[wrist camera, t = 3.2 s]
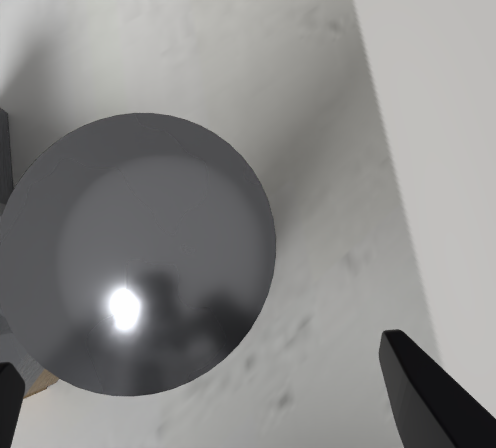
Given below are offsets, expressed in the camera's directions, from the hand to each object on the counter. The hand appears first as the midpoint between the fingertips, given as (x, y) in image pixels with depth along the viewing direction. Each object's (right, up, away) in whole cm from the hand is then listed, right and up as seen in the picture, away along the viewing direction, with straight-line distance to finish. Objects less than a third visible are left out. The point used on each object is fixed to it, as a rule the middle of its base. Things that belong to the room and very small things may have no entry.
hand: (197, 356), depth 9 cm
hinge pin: (0, 0, +10) cm, 10 cm away
